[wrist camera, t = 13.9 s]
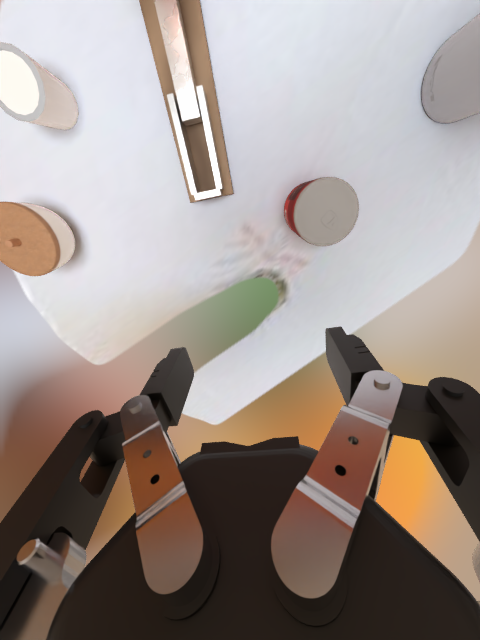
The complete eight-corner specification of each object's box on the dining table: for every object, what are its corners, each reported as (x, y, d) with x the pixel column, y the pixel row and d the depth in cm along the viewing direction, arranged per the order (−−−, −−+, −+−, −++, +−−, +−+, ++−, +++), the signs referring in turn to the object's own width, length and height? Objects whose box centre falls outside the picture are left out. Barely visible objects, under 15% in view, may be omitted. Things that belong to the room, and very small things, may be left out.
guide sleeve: (206, 95, 31) (202, 84, 28) (225, 194, 36) (223, 194, 34) (174, 104, 32) (166, 94, 29) (197, 200, 37) (192, 200, 34)
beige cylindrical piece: (58, 144, 35) (17, 133, 29) (22, 89, 32) (-32, 64, 26) (92, 119, 34) (57, 102, 27) (57, 59, 31) (9, 25, 25)
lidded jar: (17, 196, 39) (-46, 196, 31) (81, 206, 39) (36, 208, 31) (35, 259, 44) (-15, 274, 36) (92, 267, 44) (55, 284, 36)
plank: (181, -102, 24) (179, -113, 24) (233, 193, 37) (232, 193, 36) (121, -79, 25) (116, -89, 24) (191, 202, 38) (190, 202, 37)
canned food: (313, 243, 40) (332, 257, 31) (274, 219, 39) (281, 226, 29) (342, 199, 37) (374, 200, 27) (300, 171, 35) (319, 162, 26)
